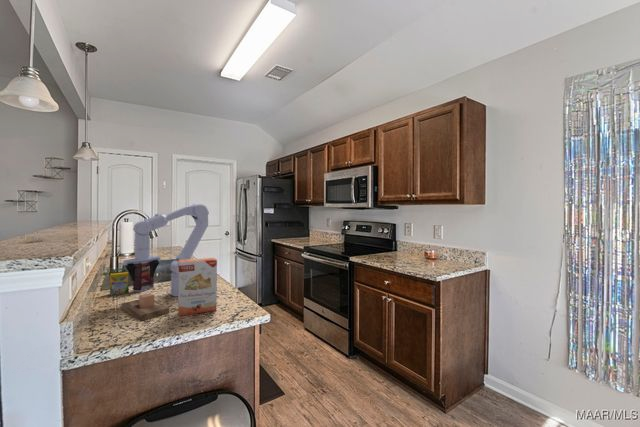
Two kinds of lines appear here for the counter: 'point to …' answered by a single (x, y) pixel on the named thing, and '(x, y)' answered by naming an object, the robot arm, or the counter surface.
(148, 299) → the terracotta plug
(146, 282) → the supplement box
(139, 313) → the notched board
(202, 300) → the cracker box
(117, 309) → the counter surface
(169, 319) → the counter surface
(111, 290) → the crayon box
